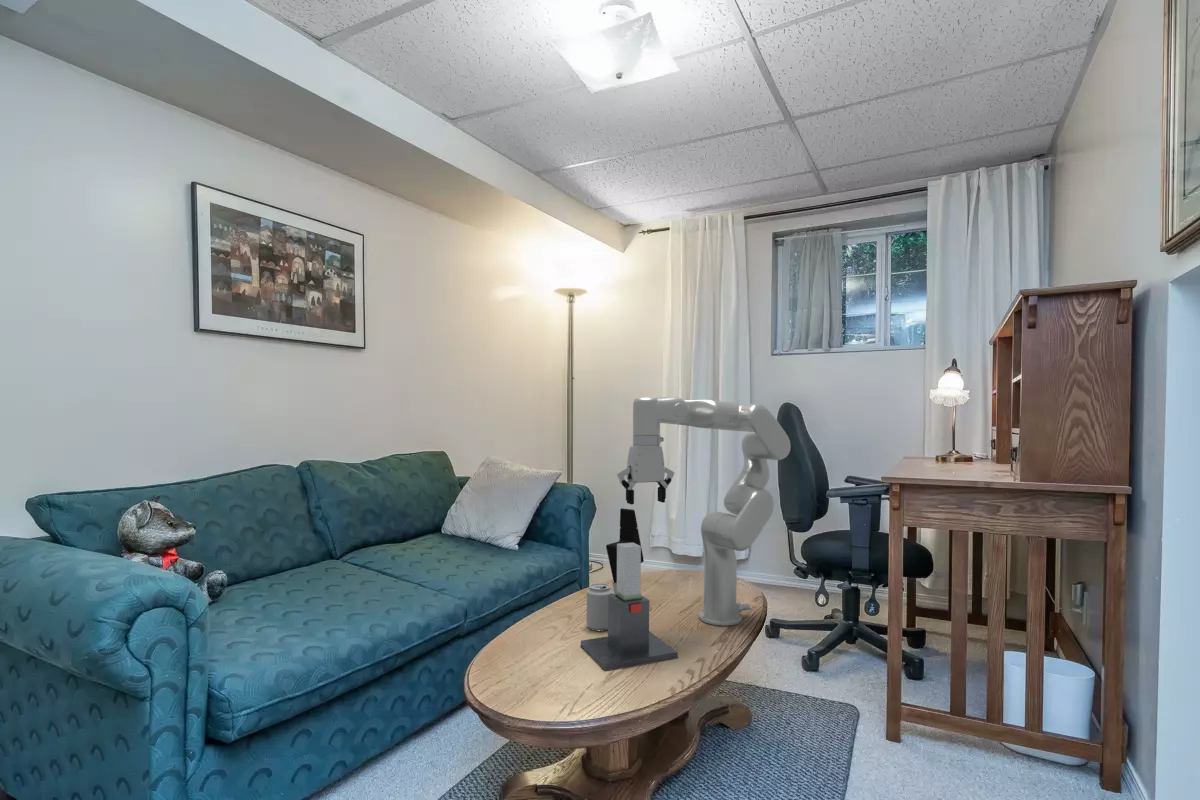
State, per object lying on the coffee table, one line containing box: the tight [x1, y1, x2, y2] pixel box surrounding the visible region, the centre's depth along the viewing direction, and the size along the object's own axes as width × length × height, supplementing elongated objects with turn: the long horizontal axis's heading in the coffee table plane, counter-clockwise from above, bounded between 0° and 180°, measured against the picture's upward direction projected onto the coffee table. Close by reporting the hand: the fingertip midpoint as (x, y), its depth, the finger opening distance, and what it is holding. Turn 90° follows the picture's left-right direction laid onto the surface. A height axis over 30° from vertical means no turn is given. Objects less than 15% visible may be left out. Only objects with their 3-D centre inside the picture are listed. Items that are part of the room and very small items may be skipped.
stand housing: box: [580, 593, 679, 671], centre depth 156 cm, size 20×16×14 cm
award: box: [605, 507, 645, 594], centre depth 196 cm, size 15×5×30 cm, turn 144°
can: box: [586, 582, 614, 632], centre depth 174 cm, size 8×8×12 cm
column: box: [616, 542, 642, 602], centre depth 157 cm, size 5×5×20 cm
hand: (645, 502), depth 170 cm, fingers open, 9 cm apart
